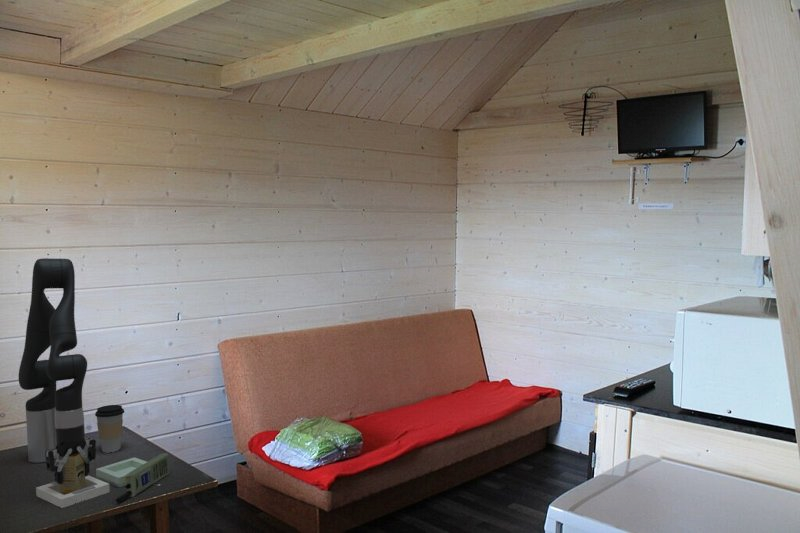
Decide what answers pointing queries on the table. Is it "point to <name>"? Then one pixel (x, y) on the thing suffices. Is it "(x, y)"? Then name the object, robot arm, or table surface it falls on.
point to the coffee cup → (110, 427)
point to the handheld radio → (145, 476)
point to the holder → (53, 496)
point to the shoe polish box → (73, 474)
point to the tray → (118, 471)
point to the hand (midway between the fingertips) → (72, 479)
